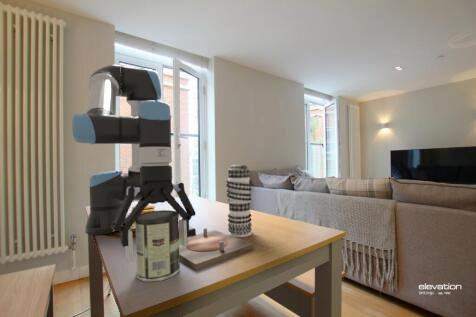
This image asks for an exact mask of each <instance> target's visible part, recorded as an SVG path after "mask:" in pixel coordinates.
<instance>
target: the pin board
mask: <svg viewBox="0 0 476 317" xmlns="http://www.w3.org/2000/svg"><path fill="white" fill-rule="evenodd" d="M251 250H254V243H252V242H249V241H246V240H244V239H240V238H239V237H232V236H230V235H229V234H227V233H223V232H221V231H218V230H215V229H214V230H209V231H208V228H206V227H204V228H203V232H201V233H198V234H197V233H196V235H194V236H190V237H187V245H186V246H183V245H181V244H179V262H180V261H181V262H182V263H183V264H185V265H187V266H188V267H189V268H191V269H193V270H195V271H199V270H201V269H203V268H206V267H209V266H212V265H214V264H217V263H219V262H222V261H225V260H229V259H230V258H234V257H235V256H236V257H237V256H239V255H241V254H243V253H246V252H249V251H251Z"/></svg>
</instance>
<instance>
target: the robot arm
mask: <svg viewBox="0 0 476 317" xmlns="http://www.w3.org/2000/svg"><path fill="white" fill-rule="evenodd" d="M88 88H89V91H90V92H89V95H88V101H87V105H86V108H85V113H84V112H83V113H77V114H74V115H73V116H72V121H71V130H72V136H73V140H74V141H75V142H76V143H78V144H89V145H90V144H91V145H94V144H95V145H99V144H101V145H104V144H109V145H114V144H115V145H116V144H117V145H119V144H120V145H121V144H123V145H124V144H125V145H129V144H130V145H131V165H130V166H129V167H128V169H127V173H123V170H122V169H118V170H110V171H106V172H99V173H94V174H92V175H90V177H89V186H88V188H89V214H88V218H87V221H86V223H85V227H84V228H85V229H84V233H85V234H86V235H93V236H96V235H97V236H98V235H99V236H100V235H109V234H111V233H110V232H112V231H113V230H115V231H118V232H120V244H121V246H122V247H124V248H125V259H126V260H127V261H128V262H130V263H131V262H133V261H134V253H133V252H134V251H133V249H134V248H133V231H132V230H131V228H132V226H133V225H134V224H135V221H136V219H137V218H138V217H139V215H140V214H142V212H143V211H144V210H145V209H146V207H148V206H149V205H150V204H151V205H155V204H158V203H161V204H162V203H163V204H164V203H165V202H166V203H167V204H168V205H170V206H171V208H172V209H173V211H176V212H178V213H179V217H181V218H178V223H179V244H181V245H183V246H186V245H187V231H189V225H190V220H191V219H192V217H194V216H195V215H196V211H195V209H194V207H193V204H192V203H191V201H190V199H189V196H188V194H187V193H186V191H185V184H184V182H179V181H177V182H176V183H173V167H172V165H170V164H172V163H173V162H172V161H173V160H172V158H173V156H172V115H171V106H170V104H169V103H167V102H165V101H161V100H162V86H161V80H160V76H159V73H158V71H156V70H153V69H150V68H149V69H148V68H146V67H145V68H143V67H133V66H127V65H126V66H125V65H120V64H111V65H106V66H103V67H100V68H98V69H96V71H94V72H93V73H92V74H91V75H90V77H89V80H88ZM117 97H123V98H126V103H127V104H128V105H129V106H130V116H129V115H127V116H126V115H117V111H116V110H117ZM173 190H174V191H175V192H176V195H177V196H178V199H179V200H180V202H181V204H182V205H180V203H179V202H178V201H177V200H176V198H175V197H174V196H173V195H172V192H173ZM134 201H135V202H136V201H137V203H136V205H135V206H134V207H133V209H132V210H131V212H130V213H129V214H128V212H129V210H130V208H131V206H132V204H133V202H134ZM183 207H184V208H183ZM127 214H128V215H127ZM108 233H109V234H108Z"/></svg>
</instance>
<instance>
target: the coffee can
mask: <svg viewBox="0 0 476 317" xmlns="http://www.w3.org/2000/svg"><path fill="white" fill-rule="evenodd" d="M179 217H180V215H179V213H178V212H176V211H175V210H169V209H168V210H166V209H165V210H162V209H161V210H154V211H147V212H143V213H141V214H140V215H139V217H138V218H137V219H136V221H135V222H134V225H135V226H134V227H135V250H136V254H135V255H136V277H137V279H138V280H140V281H142V282H149V283H156V282H161V281H165V280H167V279H170V278H173V277H174V276H176V275H177V274H178V273H180V270H181V266H180V260H179V226H178V223H179Z"/></svg>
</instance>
